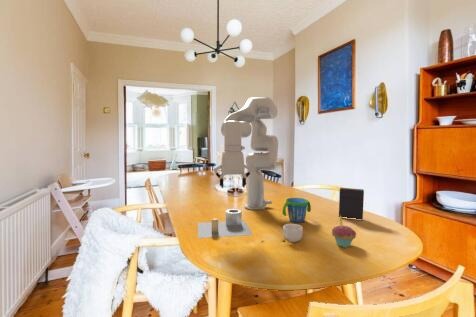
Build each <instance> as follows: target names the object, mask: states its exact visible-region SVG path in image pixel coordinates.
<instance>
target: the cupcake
mask: <svg viewBox="0 0 476 317" xmlns="http://www.w3.org/2000/svg"><path fill="white" fill-rule="evenodd" d="M339 222H340V224H339V225H337V226H334V227H333V228H332V229H331V236H333V237H334V239H335V242H336V245H337V244H338V245H339V247H341V246H343V247H342V248H349V247H351V244H352V242H353V240H354V239H356V237H357V234H356V231H355V230H354V229H352V227H350V226H348V225H343V218H342V217H341V215H340V218H339ZM338 245H337V246H338ZM348 246H349V247H348Z"/></svg>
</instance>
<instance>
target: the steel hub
mask: <svg viewBox="0 0 476 317" xmlns="http://www.w3.org/2000/svg"><path fill="white" fill-rule="evenodd" d="M242 214H243V213H242V209H238V208H229V209H226V210H225V222H226V225H227V226H230V227H237V226H240V225H241V224H242V221H243V220H242V219H243V218H242Z"/></svg>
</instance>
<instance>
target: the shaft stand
mask: <svg viewBox="0 0 476 317" xmlns="http://www.w3.org/2000/svg"><path fill="white" fill-rule="evenodd" d="M253 235H254V234H253V233H252V231H251V229H250V227H249V225H248V223H247V222H246V220H242V224H241V225H240V226H237V227H230V226H227V225H226V221H219V218H215V217H214V218H211V222H210V221H209V222H208V221H207V222H197V239H205V238H209V239H210V238H223V237H239V236H241V237H242V236H244V237H245V236H253Z"/></svg>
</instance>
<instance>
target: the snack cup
mask: <svg viewBox="0 0 476 317" xmlns="http://www.w3.org/2000/svg"><path fill="white" fill-rule="evenodd" d="M285 200H286V202H285V203H284V204H283V207H282V215H283V216H284V217H286V216H287V213H288V219H289V221H290V222H293V223H302V222H305V219H306V215H307V212H308V213H310V212H311V211H312V207H311V206H312V205H311V202H310V201H309V200H308V199H306V198H302V197H290V198H287V199H285ZM286 209H287V212H286Z"/></svg>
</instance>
